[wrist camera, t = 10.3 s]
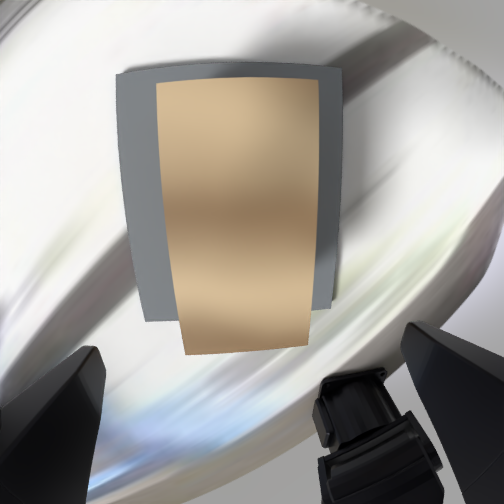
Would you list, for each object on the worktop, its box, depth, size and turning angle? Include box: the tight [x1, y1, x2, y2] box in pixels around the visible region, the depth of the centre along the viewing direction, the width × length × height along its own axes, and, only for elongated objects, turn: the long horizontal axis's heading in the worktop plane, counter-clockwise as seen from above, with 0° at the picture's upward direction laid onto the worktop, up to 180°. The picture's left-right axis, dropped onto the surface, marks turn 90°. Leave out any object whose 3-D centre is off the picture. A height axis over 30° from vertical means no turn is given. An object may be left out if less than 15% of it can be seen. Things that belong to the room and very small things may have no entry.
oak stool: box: [156, 77, 319, 355], centre depth 15 cm, size 12×6×6 cm, turn 1°
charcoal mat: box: [116, 62, 343, 322], centre depth 18 cm, size 13×16×1 cm
